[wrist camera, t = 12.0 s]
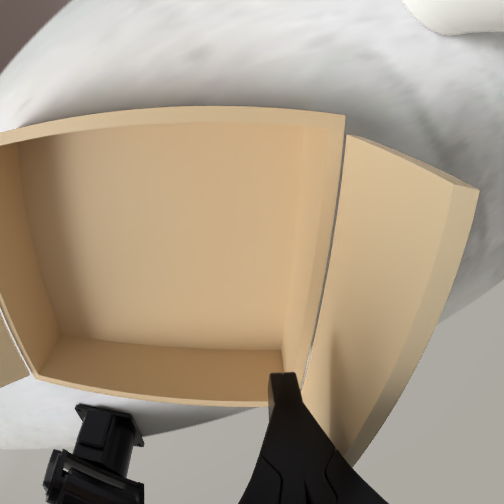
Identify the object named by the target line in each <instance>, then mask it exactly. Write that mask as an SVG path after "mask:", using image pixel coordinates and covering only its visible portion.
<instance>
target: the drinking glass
mask: <svg viewBox="0 0 504 504" xmlns="http://www.w3.org/2000/svg"><path fill="white" fill-rule="evenodd" d="M402 2H403V4H404V5H405V7H406V8H407V10H408V11H409V12H410V14H411V15H412V16H413V17H414V18H415V19H416V20H417V21H418V22H419V23H421V24H422V25H423V26H425V27H426V28H428V29H429V30H431V31H433V32H436V33H438V34H442V35H448V36H453V35H460V34H466V33H475V32H504V0H402Z"/></svg>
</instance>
